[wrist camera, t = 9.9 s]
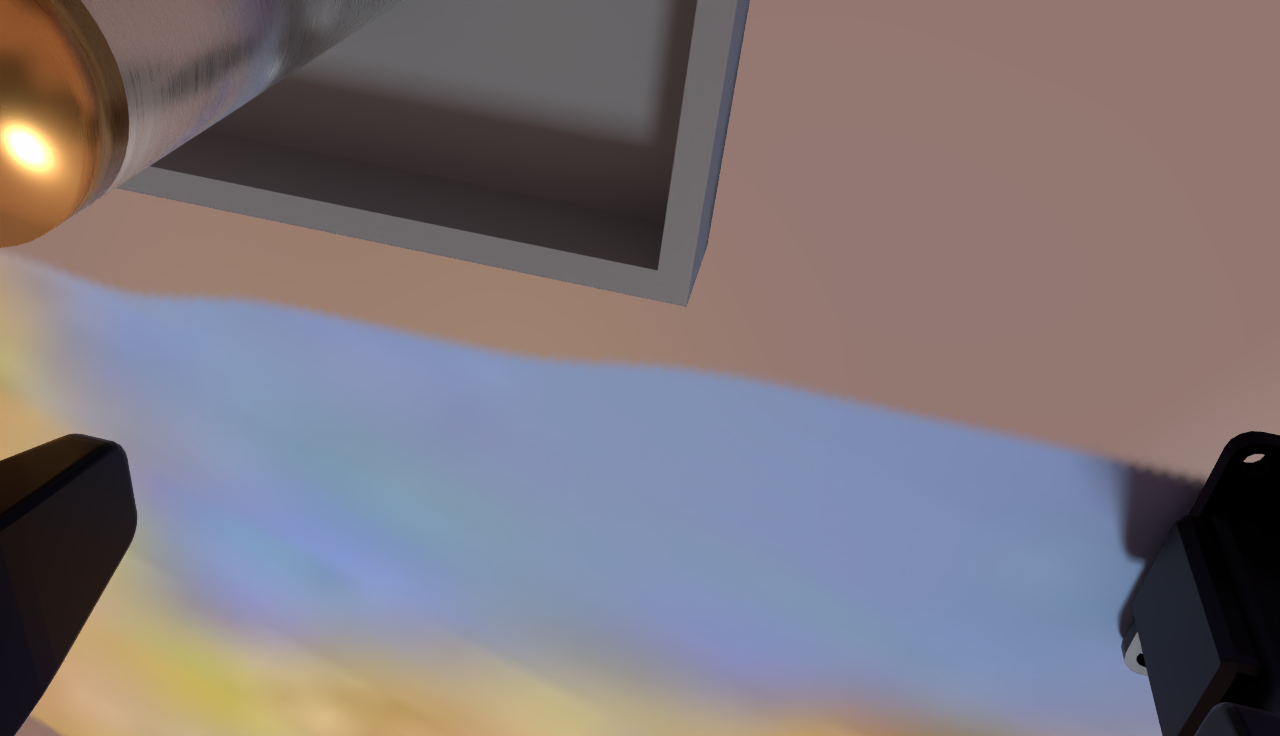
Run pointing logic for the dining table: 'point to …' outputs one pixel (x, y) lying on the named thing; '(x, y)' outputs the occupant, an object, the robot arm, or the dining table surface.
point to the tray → (494, 138)
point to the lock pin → (135, 86)
